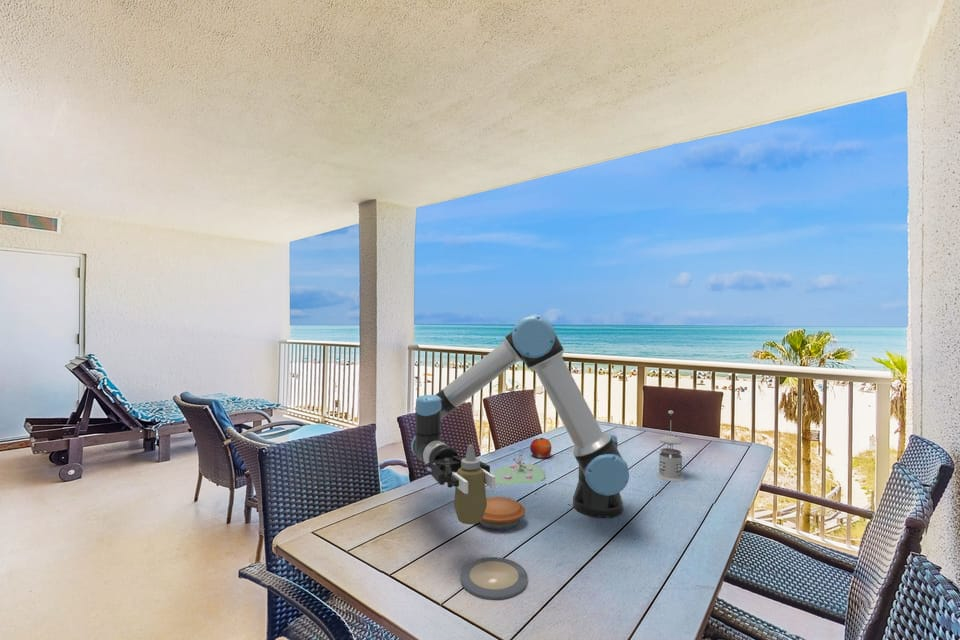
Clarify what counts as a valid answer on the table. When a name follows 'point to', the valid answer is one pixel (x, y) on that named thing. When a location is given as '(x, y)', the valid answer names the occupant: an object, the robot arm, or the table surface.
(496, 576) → the coaster
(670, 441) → the french press
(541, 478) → the plant
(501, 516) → the pie
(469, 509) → the squeeze bottle
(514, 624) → the table surface
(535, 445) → the tomato
